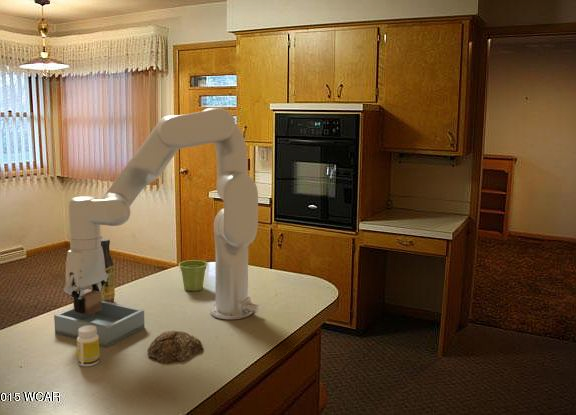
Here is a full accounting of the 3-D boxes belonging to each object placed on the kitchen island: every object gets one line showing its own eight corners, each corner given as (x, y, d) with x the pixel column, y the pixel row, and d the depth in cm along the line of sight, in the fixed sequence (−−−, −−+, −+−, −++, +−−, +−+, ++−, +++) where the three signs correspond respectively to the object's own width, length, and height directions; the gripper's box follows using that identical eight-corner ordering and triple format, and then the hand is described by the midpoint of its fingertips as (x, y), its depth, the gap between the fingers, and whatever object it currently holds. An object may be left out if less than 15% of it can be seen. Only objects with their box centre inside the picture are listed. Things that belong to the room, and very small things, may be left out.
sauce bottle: (108, 307, 159) (105, 243, 155) (89, 305, 160) (86, 241, 156) (119, 300, 165) (117, 238, 161) (100, 298, 166) (98, 236, 163)
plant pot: (174, 287, 178) (174, 262, 177) (199, 282, 184) (199, 258, 182) (186, 295, 171) (186, 269, 169) (212, 290, 176) (212, 264, 175)
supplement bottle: (104, 359, 126) (102, 326, 124) (90, 368, 122) (89, 334, 120) (87, 356, 127) (85, 323, 126) (73, 364, 123) (71, 330, 122)
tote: (144, 327, 145) (144, 310, 144) (107, 347, 132) (106, 328, 132) (94, 315, 152) (94, 298, 151) (55, 333, 140) (54, 315, 139)
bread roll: (169, 337, 140) (169, 319, 139) (208, 347, 134) (208, 329, 134) (136, 357, 128) (135, 337, 127) (177, 368, 123) (177, 348, 122)
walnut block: (101, 309, 144) (101, 292, 144) (87, 315, 140) (87, 297, 139) (87, 306, 146) (87, 288, 146) (73, 312, 142) (73, 294, 141)
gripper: (98, 235, 149) (100, 297, 152) (48, 248, 134) (52, 316, 137) (119, 238, 146) (121, 301, 149) (70, 252, 131) (73, 322, 134)
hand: (87, 308), depth 143 cm, fingers closed on walnut block, 5 cm apart
